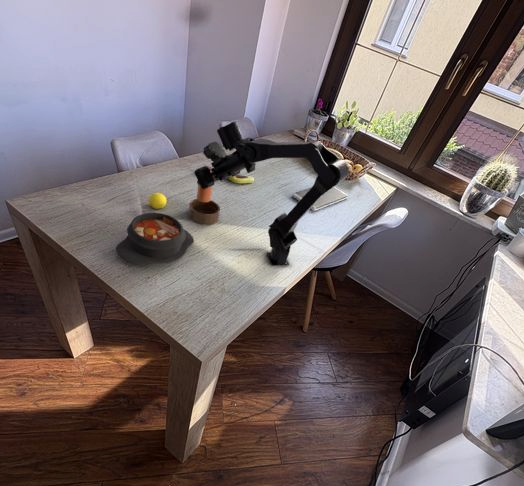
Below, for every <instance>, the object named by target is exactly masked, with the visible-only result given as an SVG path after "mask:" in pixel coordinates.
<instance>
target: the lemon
mask: <svg viewBox="0 0 524 486" xmlns="http://www.w3.org/2000/svg"><path fill="white" fill-rule="evenodd" d="M148 204H149V205H150V207H151V208H152V209H155V210H159V209H163V208H164V207H165V206H166V205H167V197H166V196H165V195H164V194H163V193H161V192H155V193H152V194H151V195H149V197H148Z"/></svg>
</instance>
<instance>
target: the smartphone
mask: <svg viewBox="0 0 524 486" xmlns="http://www.w3.org/2000/svg"><path fill="white" fill-rule="evenodd" d="M311 188H312V187H309V188H306V189H303V190H300V191H296V192H293V193H292V195H291V196H292V198H294V199H295V200H297V201H298V202H299V201H300V200H301V199H302V198H303V197H304V196H305V194H306V193H307V192H308V191H309V190H310V189H311ZM348 198H349V195H348V193H347V194H346V193H345V192H344V191H342V190H341V189H338V188H337V187H336V186H334V187H333V188H331V189H330V190H328V191H327V192H326V193H325V194H324V195H323V196H322V197H321V198H320V199H319V200H318V201H317V202H316V203H315V204H314V205H313V206H312V207H311V209H310V210H312V211H314V212H315V211H317V210H320V209H323V208H325V207H329V206H330V205H334V204H336V203H339V202H341V201H344V200H346V199H348Z"/></svg>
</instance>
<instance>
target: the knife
mask: <svg viewBox="0 0 524 486" xmlns="http://www.w3.org/2000/svg"><path fill="white" fill-rule="evenodd" d="M197 169H198V167H196V169H195V170H197ZM227 180H229V181H230V182H232V183H236V184H251V183H254V181H255V179H254V177H252V176H250V175H248V176H247V175H241V174H237V175H235V176H233V177H232V176H230V178H228V179H227Z"/></svg>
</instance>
